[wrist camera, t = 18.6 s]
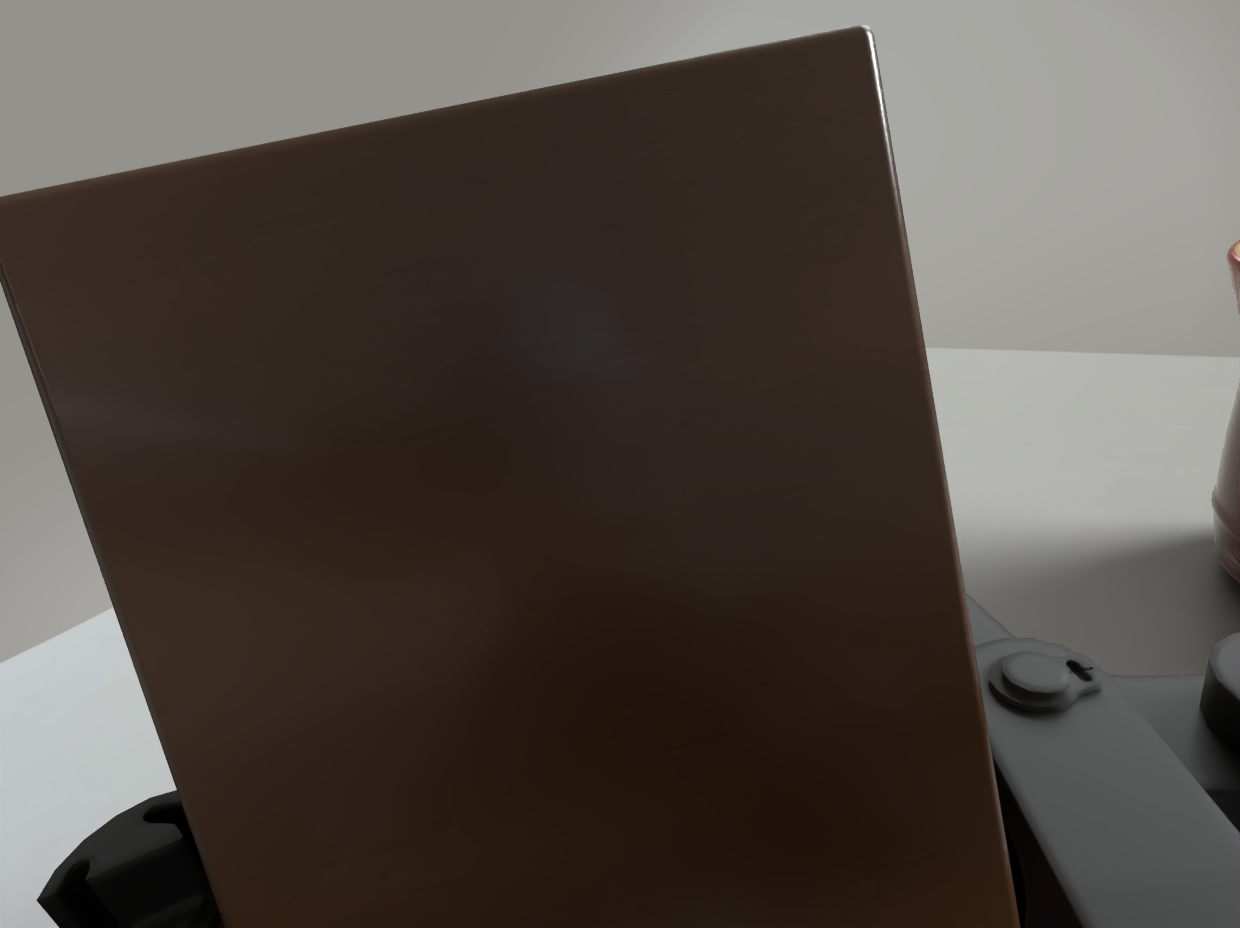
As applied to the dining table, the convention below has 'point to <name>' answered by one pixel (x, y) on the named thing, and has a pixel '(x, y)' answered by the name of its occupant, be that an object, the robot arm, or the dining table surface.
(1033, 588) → the dining table surface
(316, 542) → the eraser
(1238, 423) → the mug
